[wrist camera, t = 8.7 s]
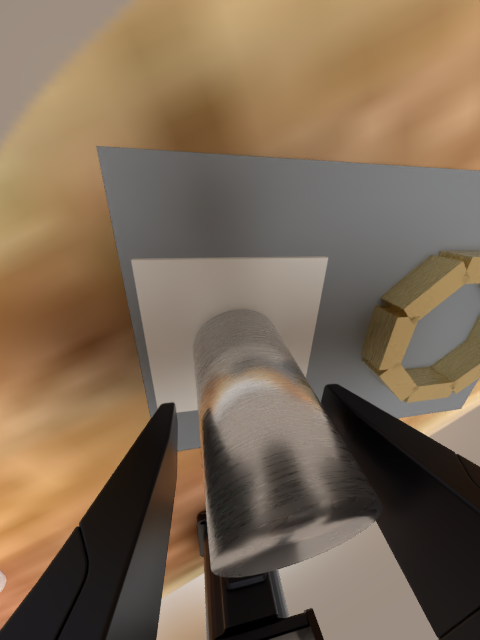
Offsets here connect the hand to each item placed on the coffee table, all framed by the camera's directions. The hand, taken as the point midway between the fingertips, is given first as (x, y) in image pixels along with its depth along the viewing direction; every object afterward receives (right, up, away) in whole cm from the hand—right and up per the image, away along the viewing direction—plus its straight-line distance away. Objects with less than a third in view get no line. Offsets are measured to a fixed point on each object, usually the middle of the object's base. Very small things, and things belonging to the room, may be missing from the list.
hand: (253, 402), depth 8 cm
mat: (-1, +2, +4) cm, 4 cm away
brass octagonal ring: (+11, +2, +5) cm, 12 cm away
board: (+5, +3, +6) cm, 8 cm away
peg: (-1, +2, +3) cm, 4 cm away
